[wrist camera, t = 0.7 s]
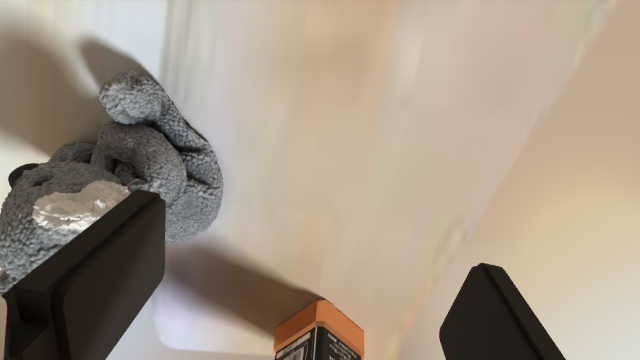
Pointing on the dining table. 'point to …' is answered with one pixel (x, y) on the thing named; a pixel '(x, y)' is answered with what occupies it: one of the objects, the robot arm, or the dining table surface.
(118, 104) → the koala plush
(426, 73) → the dining table surface
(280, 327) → the whiskey bottle
